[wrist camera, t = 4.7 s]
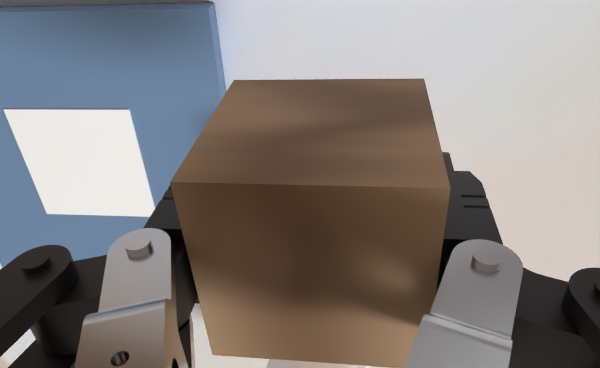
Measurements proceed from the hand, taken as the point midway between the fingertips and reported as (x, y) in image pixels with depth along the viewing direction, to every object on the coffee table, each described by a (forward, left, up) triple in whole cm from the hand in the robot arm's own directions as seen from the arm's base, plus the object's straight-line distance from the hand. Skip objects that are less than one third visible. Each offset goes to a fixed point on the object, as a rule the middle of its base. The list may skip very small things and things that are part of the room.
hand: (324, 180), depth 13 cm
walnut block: (0, 0, -1) cm, 1 cm away
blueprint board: (+13, +6, -11) cm, 18 cm away
